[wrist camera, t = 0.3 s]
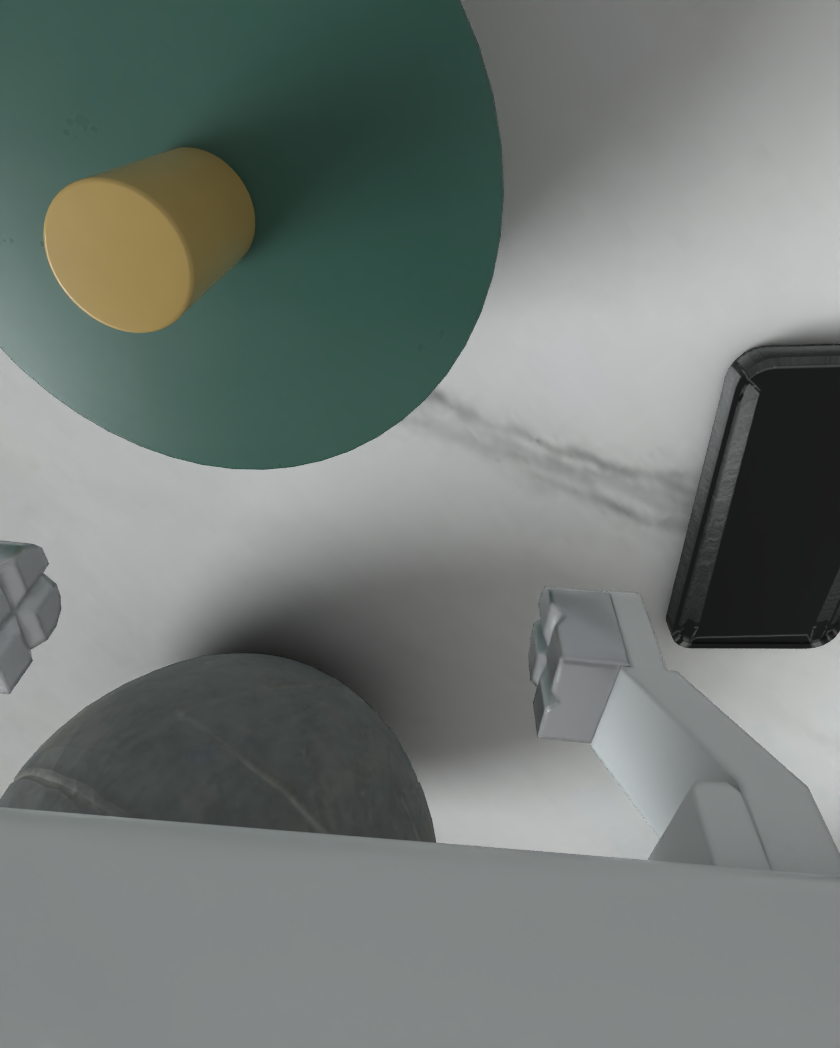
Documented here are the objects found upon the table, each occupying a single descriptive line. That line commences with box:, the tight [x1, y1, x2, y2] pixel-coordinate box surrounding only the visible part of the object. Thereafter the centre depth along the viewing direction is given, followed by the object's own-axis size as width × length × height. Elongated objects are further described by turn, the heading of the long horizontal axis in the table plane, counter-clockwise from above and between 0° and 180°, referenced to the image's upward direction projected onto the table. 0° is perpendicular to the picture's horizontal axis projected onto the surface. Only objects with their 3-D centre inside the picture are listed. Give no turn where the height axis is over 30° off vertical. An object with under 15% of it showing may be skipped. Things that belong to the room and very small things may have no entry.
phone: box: [666, 344, 840, 649], centre depth 27 cm, size 8×1×15 cm
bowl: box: [0, 653, 436, 843], centre depth 32 cm, size 21×21×15 cm
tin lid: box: [0, 0, 504, 470], centre depth 12 cm, size 13×13×5 cm
